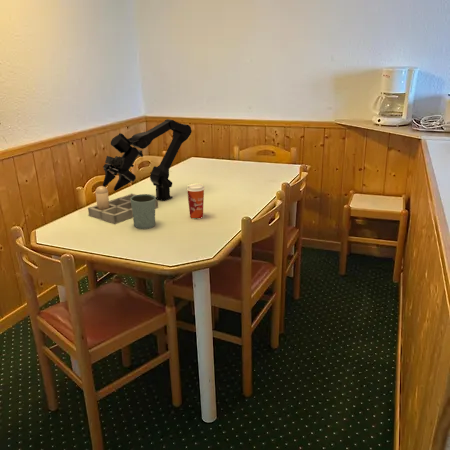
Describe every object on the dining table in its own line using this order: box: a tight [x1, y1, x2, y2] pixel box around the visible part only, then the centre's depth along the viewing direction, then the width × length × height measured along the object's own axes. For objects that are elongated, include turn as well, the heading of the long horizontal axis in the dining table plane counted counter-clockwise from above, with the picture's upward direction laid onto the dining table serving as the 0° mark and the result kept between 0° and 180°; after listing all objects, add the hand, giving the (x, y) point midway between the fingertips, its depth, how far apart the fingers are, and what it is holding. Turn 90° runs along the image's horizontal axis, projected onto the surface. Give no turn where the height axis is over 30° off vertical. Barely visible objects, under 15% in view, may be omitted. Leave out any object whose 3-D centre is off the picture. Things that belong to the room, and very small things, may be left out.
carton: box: [87, 193, 159, 225], centre depth 197 cm, size 17×25×4 cm
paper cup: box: [186, 183, 206, 219], centre depth 188 cm, size 8×8×14 cm
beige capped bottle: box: [95, 185, 110, 211], centre depth 192 cm, size 5×5×12 cm
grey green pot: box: [130, 193, 157, 230], centre depth 180 cm, size 10×10×12 cm
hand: (108, 188), depth 192 cm, fingers open, 9 cm apart
